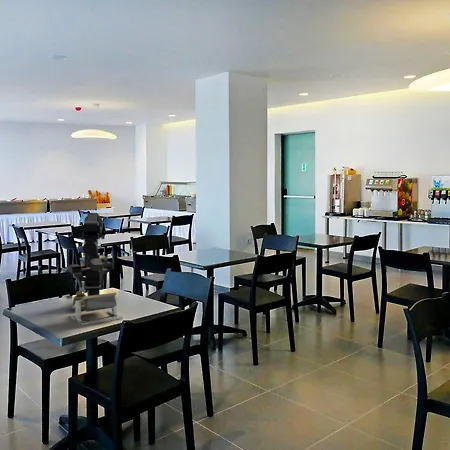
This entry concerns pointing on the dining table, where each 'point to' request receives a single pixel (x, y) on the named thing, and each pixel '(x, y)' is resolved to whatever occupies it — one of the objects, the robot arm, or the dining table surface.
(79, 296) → the bronze domed piece
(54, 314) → the dining table surface
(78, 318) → the trapdoor frame
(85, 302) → the trapdoor
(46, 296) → the dining table surface
